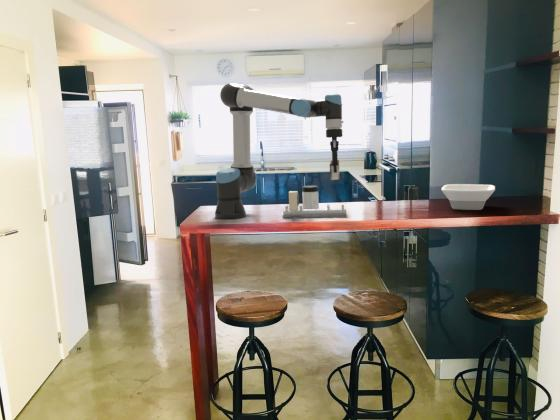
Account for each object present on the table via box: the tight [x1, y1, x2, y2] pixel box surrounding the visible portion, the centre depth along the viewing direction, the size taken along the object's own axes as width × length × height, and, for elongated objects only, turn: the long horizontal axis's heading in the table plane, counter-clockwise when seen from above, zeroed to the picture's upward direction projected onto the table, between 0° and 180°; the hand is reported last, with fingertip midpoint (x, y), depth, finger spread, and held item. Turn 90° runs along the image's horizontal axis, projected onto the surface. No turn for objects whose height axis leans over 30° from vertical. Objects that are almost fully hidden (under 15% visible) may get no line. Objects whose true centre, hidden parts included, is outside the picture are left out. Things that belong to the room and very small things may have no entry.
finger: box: [329, 159, 341, 181], centre depth 216 cm, size 4×4×9 cm
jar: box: [301, 185, 320, 209], centre depth 241 cm, size 9×8×12 cm
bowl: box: [440, 183, 496, 211], centre depth 227 cm, size 24×25×10 cm
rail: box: [282, 190, 348, 219], centre depth 220 cm, size 30×9×12 cm, turn 83°
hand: (335, 178), depth 217 cm, fingers closed on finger, 4 cm apart
